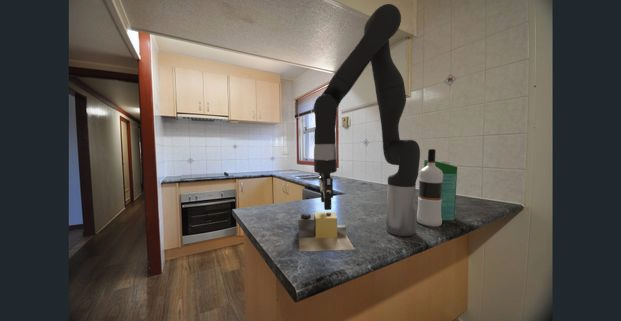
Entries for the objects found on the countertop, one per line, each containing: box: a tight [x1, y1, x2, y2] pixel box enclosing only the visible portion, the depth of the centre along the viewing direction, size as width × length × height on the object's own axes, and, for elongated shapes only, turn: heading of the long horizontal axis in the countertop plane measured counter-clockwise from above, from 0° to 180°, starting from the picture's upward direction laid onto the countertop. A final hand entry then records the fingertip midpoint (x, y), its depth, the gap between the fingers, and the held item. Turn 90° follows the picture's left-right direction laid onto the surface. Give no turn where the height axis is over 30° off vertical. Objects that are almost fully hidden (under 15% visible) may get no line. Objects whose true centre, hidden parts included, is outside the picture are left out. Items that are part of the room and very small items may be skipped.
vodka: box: [417, 148, 443, 228], centre depth 83 cm, size 9×9×30 cm
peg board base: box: [297, 212, 356, 252], centre depth 67 cm, size 16×16×8 cm
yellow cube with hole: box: [313, 211, 338, 238], centre depth 70 cm, size 7×6×7 cm
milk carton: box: [423, 159, 458, 221], centre depth 91 cm, size 9×9×25 cm
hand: (325, 205), depth 70 cm, fingers open, 8 cm apart
